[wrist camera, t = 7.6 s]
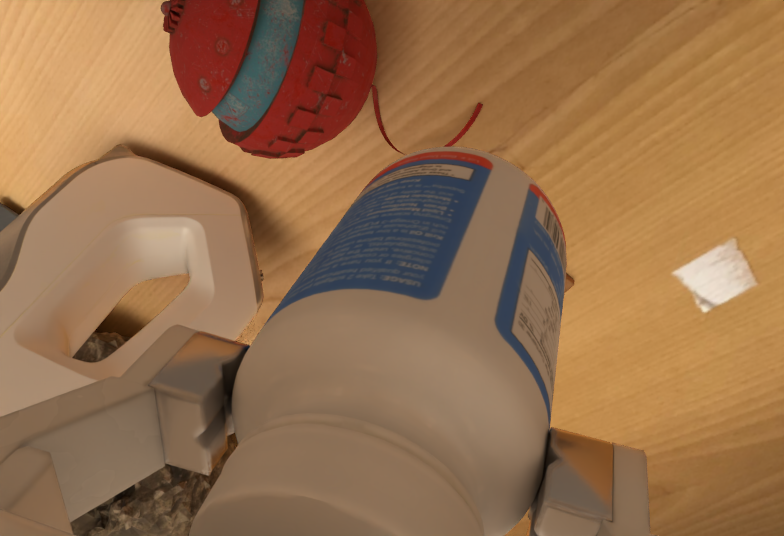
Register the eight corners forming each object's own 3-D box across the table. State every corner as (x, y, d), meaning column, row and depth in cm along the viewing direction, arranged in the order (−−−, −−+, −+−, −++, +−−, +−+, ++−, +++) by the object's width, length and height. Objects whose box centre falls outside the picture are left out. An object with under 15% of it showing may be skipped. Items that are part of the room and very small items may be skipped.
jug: (107, 200, 43) (-207, 509, 27) (95, 132, 39) (-278, 445, 24) (299, 267, 42) (82, 629, 26) (305, 203, 38) (56, 582, 22)
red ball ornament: (390, 226, 37) (113, 151, 29) (396, 79, 40) (142, -29, 31) (511, 175, 30) (187, 55, 22) (508, 0, 33) (217, -169, 24)
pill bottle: (327, 265, 18) (99, 580, 10) (410, 98, 15) (176, 364, 7) (499, 364, 18) (406, 754, 10) (618, 217, 15) (615, 613, 7)
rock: (260, 416, 57) (320, 483, 43) (146, 563, 54) (173, 685, 40) (74, 284, 49) (77, 316, 36) (-70, 447, 46) (-125, 548, 33)
